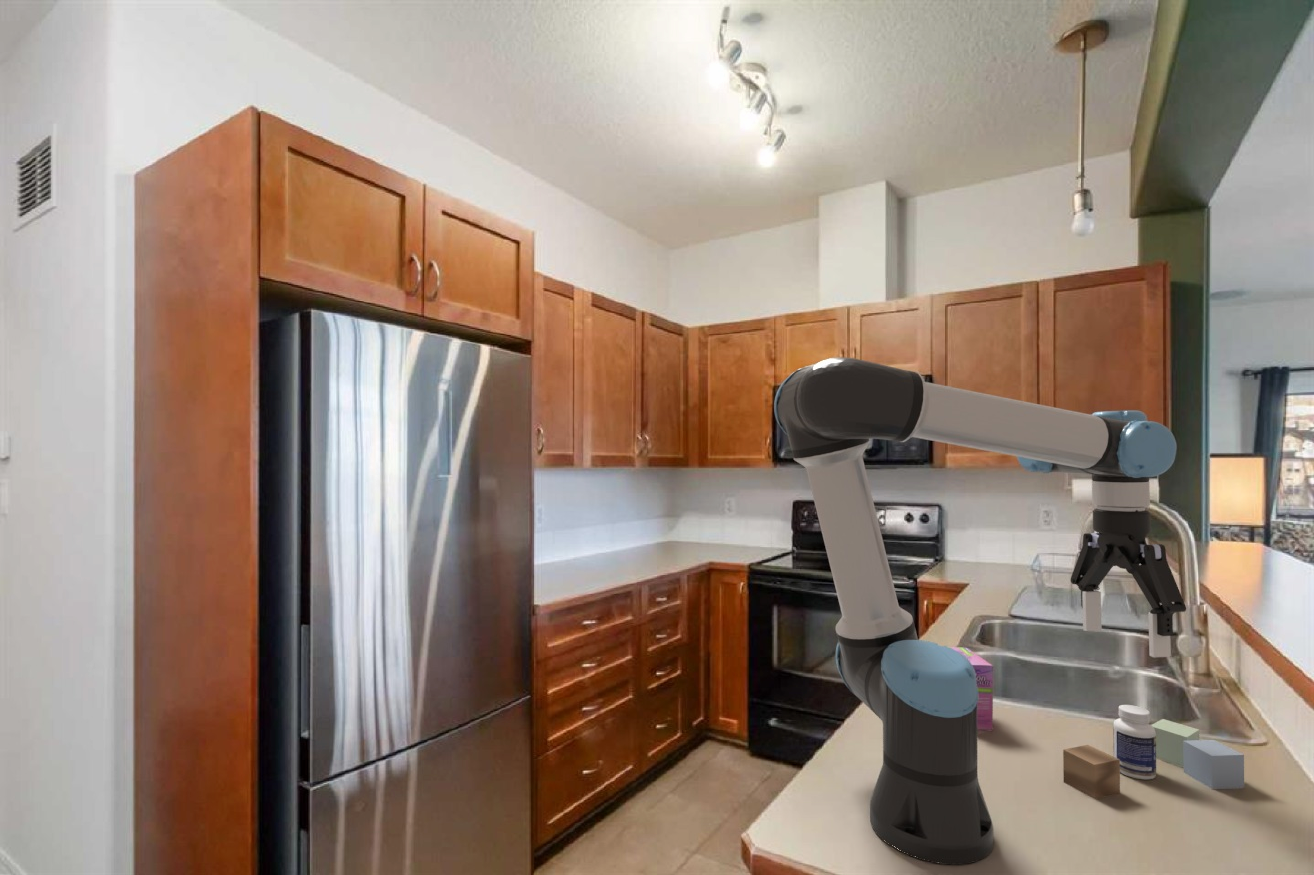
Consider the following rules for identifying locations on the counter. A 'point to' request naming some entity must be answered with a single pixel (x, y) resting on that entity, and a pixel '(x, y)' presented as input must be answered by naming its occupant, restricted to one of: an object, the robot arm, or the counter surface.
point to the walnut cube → (1091, 771)
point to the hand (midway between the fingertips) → (1124, 642)
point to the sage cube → (1172, 740)
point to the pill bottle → (1135, 742)
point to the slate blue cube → (1213, 764)
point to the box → (981, 688)
